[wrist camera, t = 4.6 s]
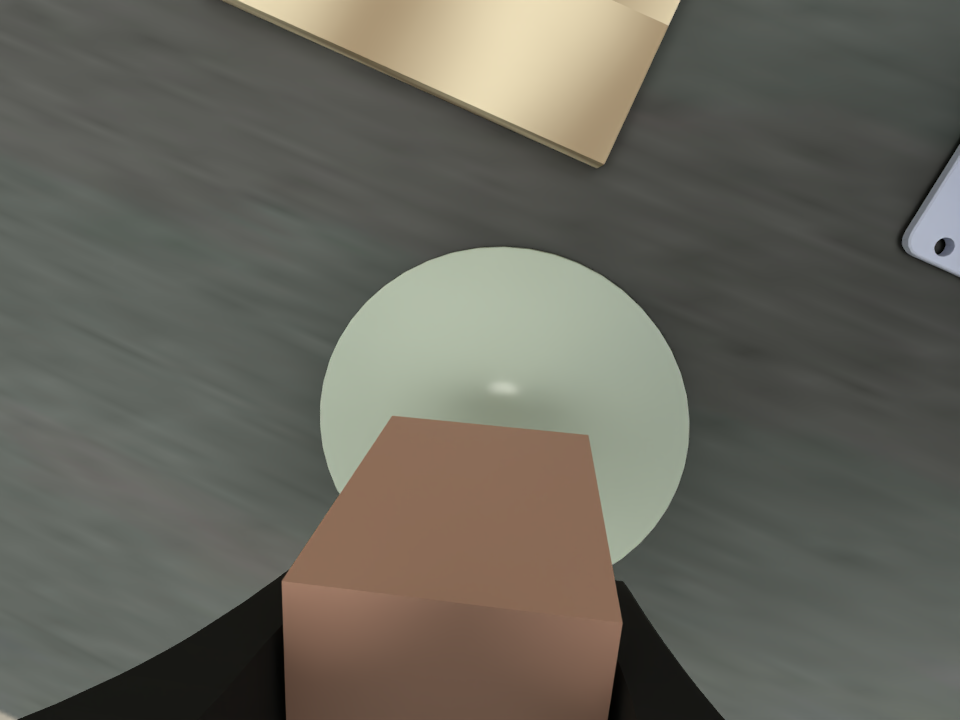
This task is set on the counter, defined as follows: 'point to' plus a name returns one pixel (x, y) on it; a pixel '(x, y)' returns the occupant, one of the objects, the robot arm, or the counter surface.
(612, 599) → the terracotta block
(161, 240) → the counter surface
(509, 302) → the sage coaster
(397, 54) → the maple pocket holder
